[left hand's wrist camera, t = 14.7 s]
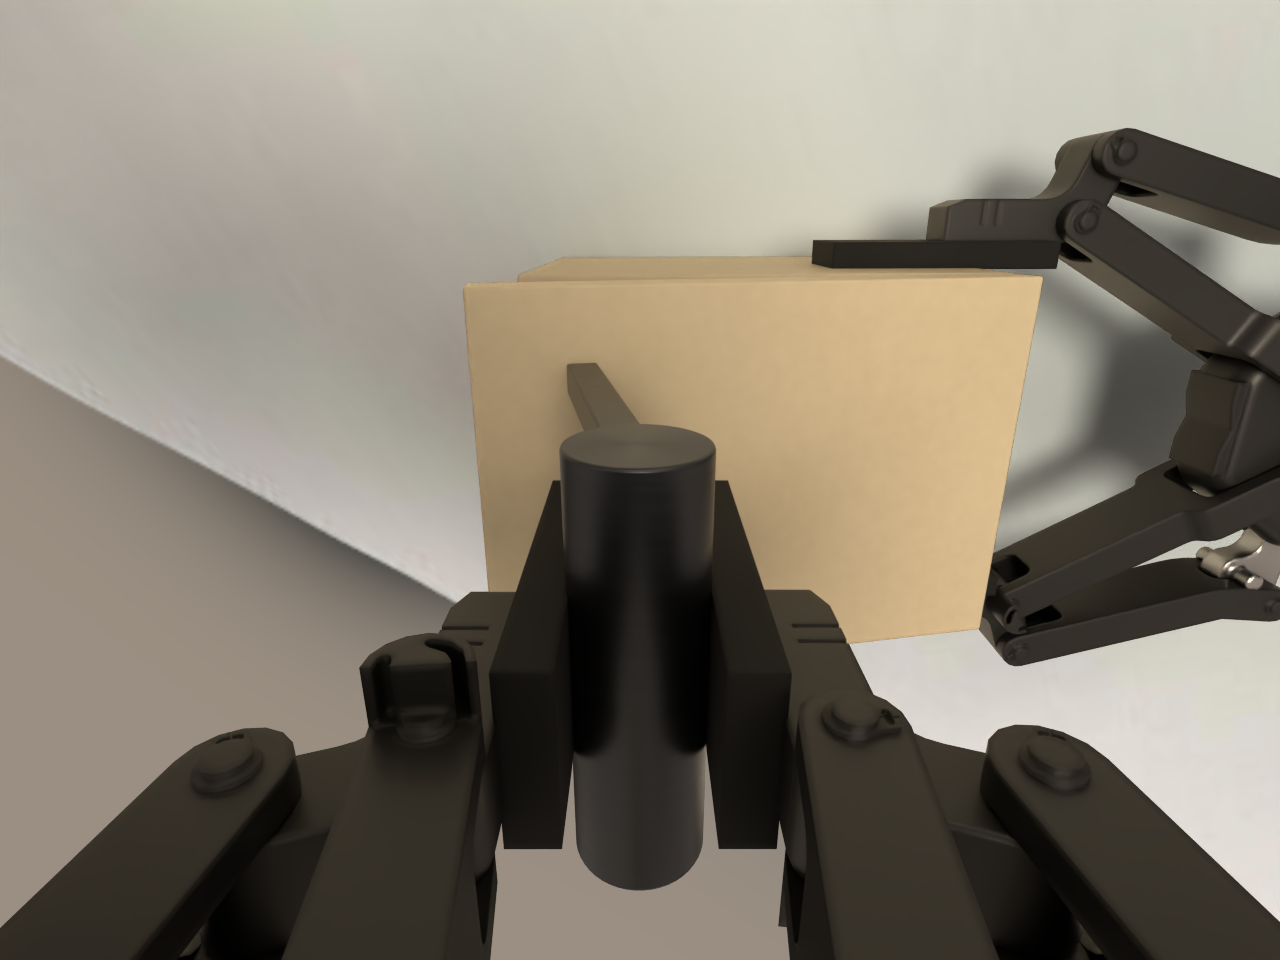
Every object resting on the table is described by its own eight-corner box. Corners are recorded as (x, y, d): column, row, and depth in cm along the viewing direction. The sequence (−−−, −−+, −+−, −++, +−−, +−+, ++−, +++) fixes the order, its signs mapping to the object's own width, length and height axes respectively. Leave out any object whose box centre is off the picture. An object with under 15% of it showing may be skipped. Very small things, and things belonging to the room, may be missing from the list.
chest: (570, 491, 32) (536, 607, 22) (561, 257, 28) (516, 274, 19) (864, 491, 32) (958, 607, 22) (890, 256, 28) (1015, 272, 19)
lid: (496, 658, 20) (496, 991, 11) (464, 282, 16) (428, 347, 8) (955, 608, 22) (1243, 851, 13) (1011, 273, 19) (1444, 313, 10)
